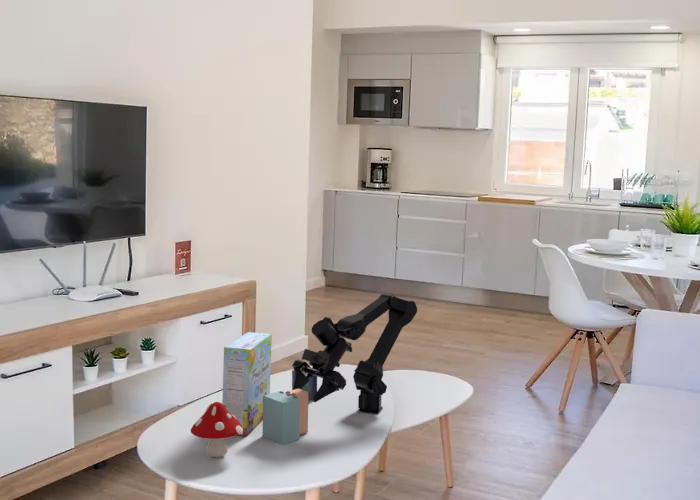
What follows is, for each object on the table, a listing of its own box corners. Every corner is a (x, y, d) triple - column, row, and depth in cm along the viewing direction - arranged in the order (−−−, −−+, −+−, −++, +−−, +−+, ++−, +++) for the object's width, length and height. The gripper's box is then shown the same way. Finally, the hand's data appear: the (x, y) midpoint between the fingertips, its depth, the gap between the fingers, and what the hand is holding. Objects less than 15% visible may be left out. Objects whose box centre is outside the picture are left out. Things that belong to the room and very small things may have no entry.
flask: (290, 396, 272) (290, 364, 270) (294, 393, 274) (295, 362, 273) (315, 400, 268) (315, 368, 266) (319, 398, 270) (319, 366, 269)
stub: (297, 428, 241) (298, 387, 239) (307, 431, 237) (308, 390, 236) (284, 431, 237) (285, 390, 236) (294, 436, 234) (295, 394, 232)
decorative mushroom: (185, 449, 223) (185, 396, 221) (234, 443, 228) (234, 391, 226) (197, 469, 210) (197, 412, 208) (249, 461, 215) (249, 406, 213)
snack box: (249, 437, 233) (250, 349, 230) (220, 434, 235) (220, 347, 231) (271, 413, 254) (272, 332, 251) (245, 411, 256) (245, 330, 252)
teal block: (278, 431, 238) (279, 390, 237) (299, 439, 232) (299, 397, 231) (262, 435, 234) (262, 394, 233) (282, 444, 228) (283, 401, 226)
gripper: (297, 333, 246) (268, 375, 240) (340, 344, 233) (310, 389, 227) (316, 354, 253) (288, 396, 246) (358, 367, 239) (330, 411, 233)
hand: (303, 397), depth 238 cm, fingers open, 9 cm apart
